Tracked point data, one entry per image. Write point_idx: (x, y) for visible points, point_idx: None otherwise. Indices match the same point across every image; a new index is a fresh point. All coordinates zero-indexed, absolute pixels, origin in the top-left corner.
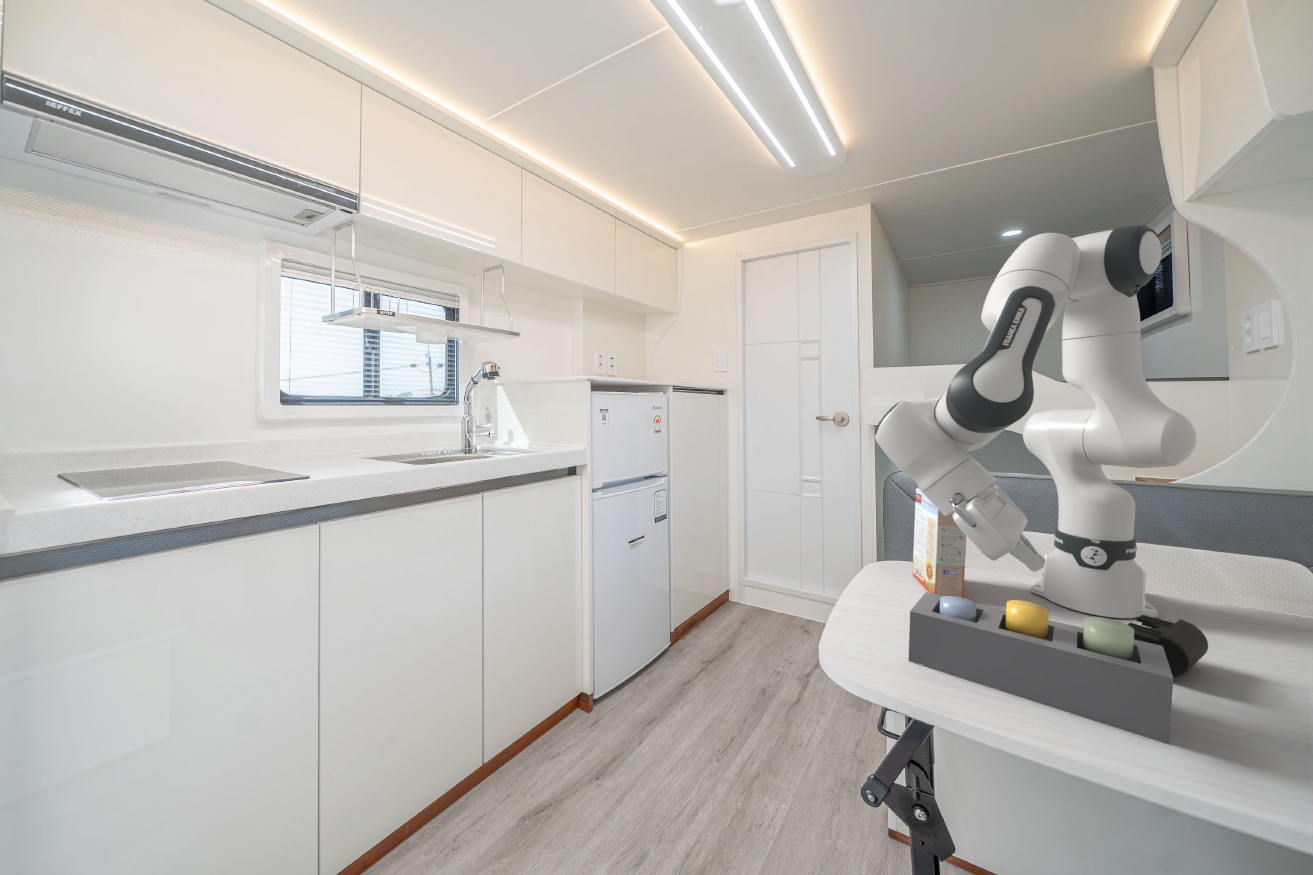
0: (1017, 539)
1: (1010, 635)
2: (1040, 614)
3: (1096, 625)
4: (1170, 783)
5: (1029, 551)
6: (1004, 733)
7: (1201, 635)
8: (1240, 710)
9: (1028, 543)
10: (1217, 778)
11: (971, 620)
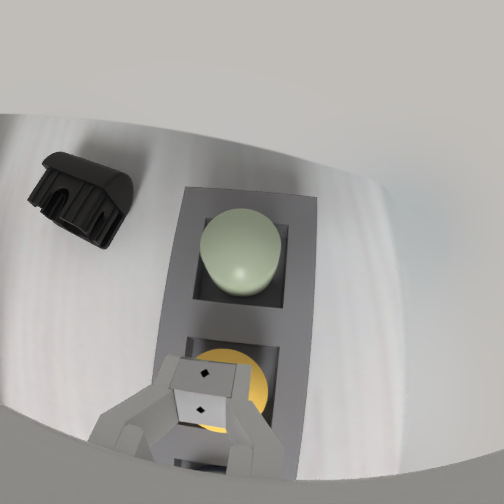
0: (417, 477)
1: (297, 414)
2: (258, 367)
3: (261, 266)
4: (383, 252)
5: (266, 422)
6: (399, 394)
7: (66, 153)
8: (169, 163)
9: (137, 415)
10: (342, 213)
11: None
